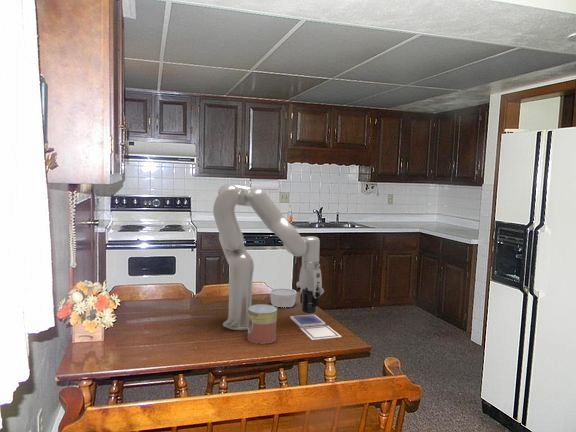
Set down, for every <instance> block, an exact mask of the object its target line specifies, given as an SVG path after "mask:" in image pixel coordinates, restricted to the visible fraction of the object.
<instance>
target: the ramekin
mask: <svg viewBox="0 0 576 432" xmlns="http://www.w3.org/2000/svg"><path fill="white" fill-rule="evenodd" d="M297 294H298V292H297V291H296V290H295V289H292V288H287V287H281V288H279V287H278V288H273V289H270V292H269V295H270V303H271V304H270V305H272V306H276V308H278V307H281V308H280V309H287V308H286V307H290V308H292V307H294V305H295V303H296V299H297ZM282 307H283V308H282ZM284 307H285V308H284Z"/></svg>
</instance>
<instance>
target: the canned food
mask: <svg viewBox="0 0 576 432" xmlns="http://www.w3.org/2000/svg"><path fill="white" fill-rule="evenodd" d="M248 310H249V312H248V329H247V337H246V338H248V339H247V340H248V342H251V343H253V342H255V343H254V344H258V343H260V344H259V345H264V344H266V343H267V344H270V343H273V341H274V342H275V341H276V340H277V318H278V317H277V316H278V315H277V314H278V313H277V312H278V307H275V306H273V305H272V304H265V303H264V304H263V303H258V304H251V306H250V307H249V308H248Z"/></svg>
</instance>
